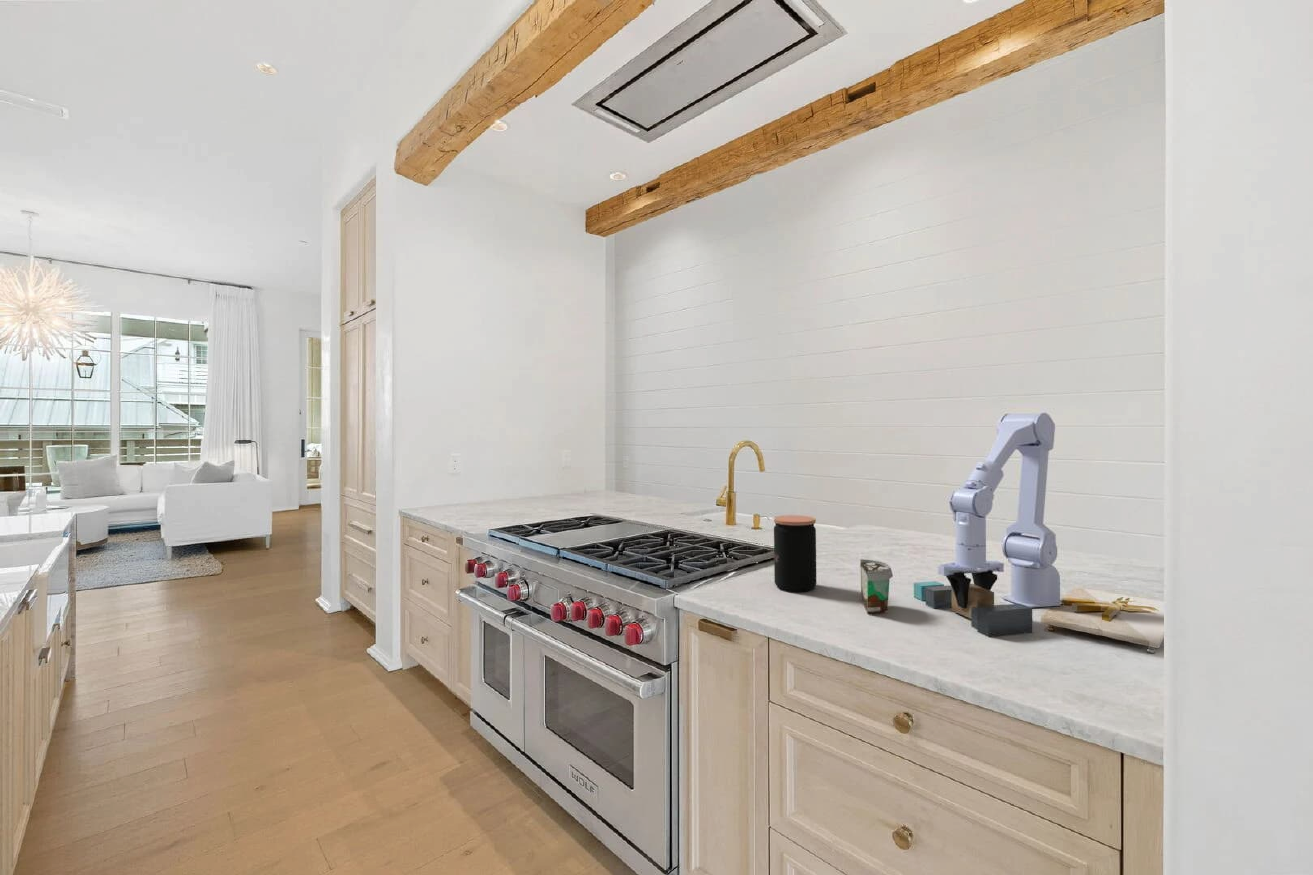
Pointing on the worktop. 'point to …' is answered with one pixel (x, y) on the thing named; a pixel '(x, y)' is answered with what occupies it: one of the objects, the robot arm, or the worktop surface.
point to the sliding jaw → (934, 594)
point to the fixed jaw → (1002, 619)
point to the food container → (875, 586)
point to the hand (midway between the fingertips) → (971, 606)
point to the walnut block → (973, 600)
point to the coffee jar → (795, 553)
